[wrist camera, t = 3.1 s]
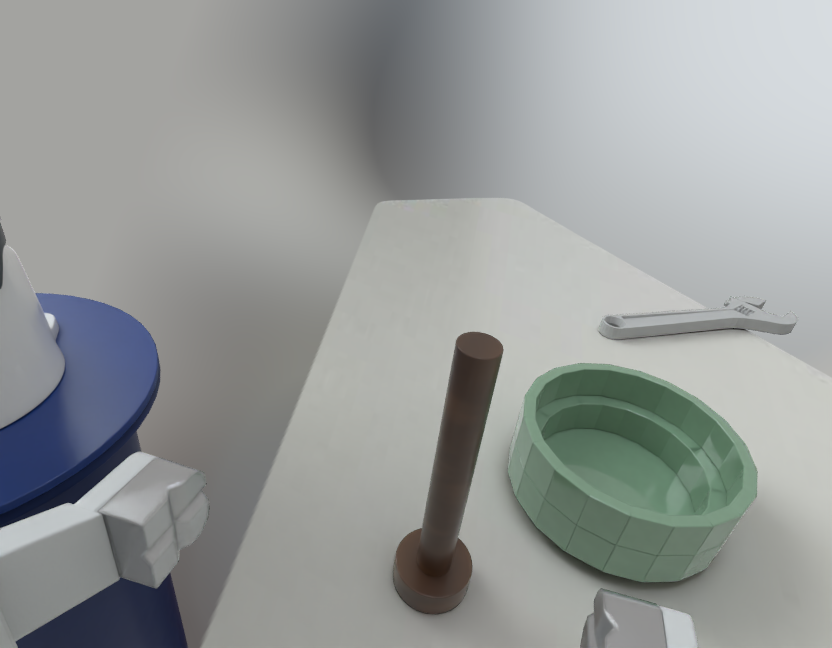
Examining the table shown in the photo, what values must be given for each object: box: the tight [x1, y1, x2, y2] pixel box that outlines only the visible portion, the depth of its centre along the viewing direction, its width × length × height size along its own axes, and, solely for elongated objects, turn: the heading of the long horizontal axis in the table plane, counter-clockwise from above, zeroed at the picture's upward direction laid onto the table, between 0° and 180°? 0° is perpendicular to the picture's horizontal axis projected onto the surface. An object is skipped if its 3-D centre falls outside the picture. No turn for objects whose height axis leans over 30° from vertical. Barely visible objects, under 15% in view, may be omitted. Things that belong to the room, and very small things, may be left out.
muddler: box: [393, 332, 503, 614], centre depth 26 cm, size 4×4×17 cm
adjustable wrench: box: [599, 296, 798, 339], centre depth 60 cm, size 25×6×2 cm, turn 101°
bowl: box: [508, 363, 758, 582], centre depth 36 cm, size 15×15×6 cm
